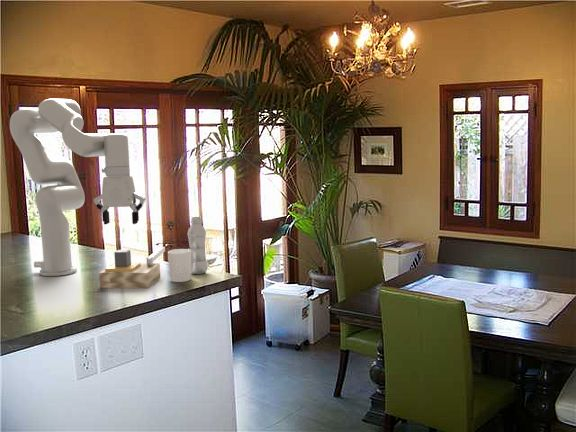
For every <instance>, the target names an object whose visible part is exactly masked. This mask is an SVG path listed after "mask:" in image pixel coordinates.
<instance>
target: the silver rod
mask: <svg viewBox="0 0 576 432" xmlns="http://www.w3.org/2000/svg"><path fill="white" fill-rule="evenodd" d="M164 252H166V247H165V246H159V247H158V248H157V249H156V250H154V252H152V254H150V255H149V256H148V257H146V263H147V266H153V263H154V262H155V261H156V260H157V259H158V258H159V257H160V256H161V255H163V254H164Z"/></svg>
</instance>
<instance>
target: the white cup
mask: <svg viewBox="0 0 576 432" xmlns="http://www.w3.org/2000/svg"><path fill="white" fill-rule="evenodd" d="M167 259H168V268H169V274H170V281H171V282H173V283H184V282H188V281H190V280H191V277H192V275H191V274H192V273H191V250H190V248H175V249H171V250H168V251H167Z"/></svg>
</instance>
